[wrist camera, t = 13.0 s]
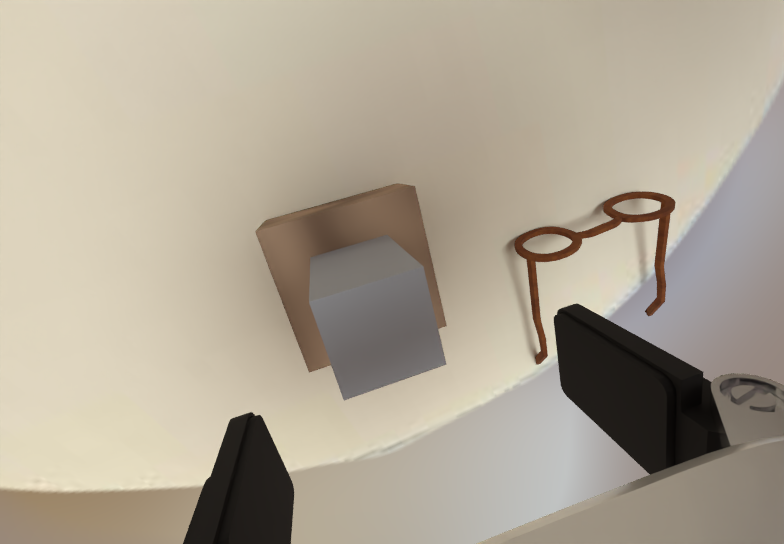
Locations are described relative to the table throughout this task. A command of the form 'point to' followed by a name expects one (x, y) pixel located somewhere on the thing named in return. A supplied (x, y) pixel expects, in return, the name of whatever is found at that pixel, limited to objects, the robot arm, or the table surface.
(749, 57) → the table surface
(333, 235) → the block
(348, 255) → the grey block
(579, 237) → the glasses
